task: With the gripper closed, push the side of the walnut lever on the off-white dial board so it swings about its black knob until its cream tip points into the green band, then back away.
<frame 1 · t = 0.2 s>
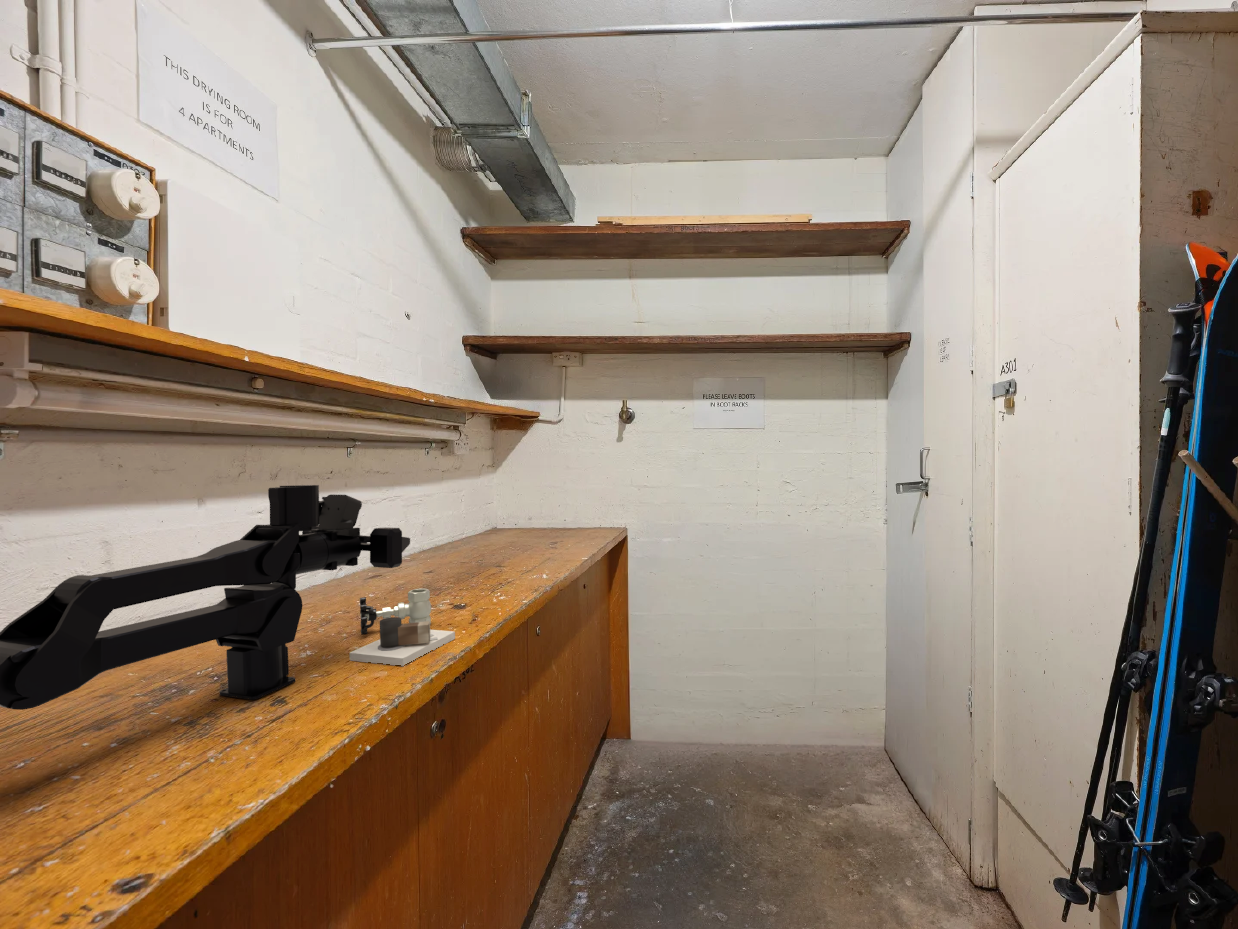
hand: (388, 539, 101), 17 cm above the worktop, tool horizontal, fingers open, 9 cm apart
lever: (404, 630, 90), point 4 cm above the worktop, hinge at -60.0°
valve: (397, 630, 103), on the worktop
dial board: (405, 649, 92), on the worktop
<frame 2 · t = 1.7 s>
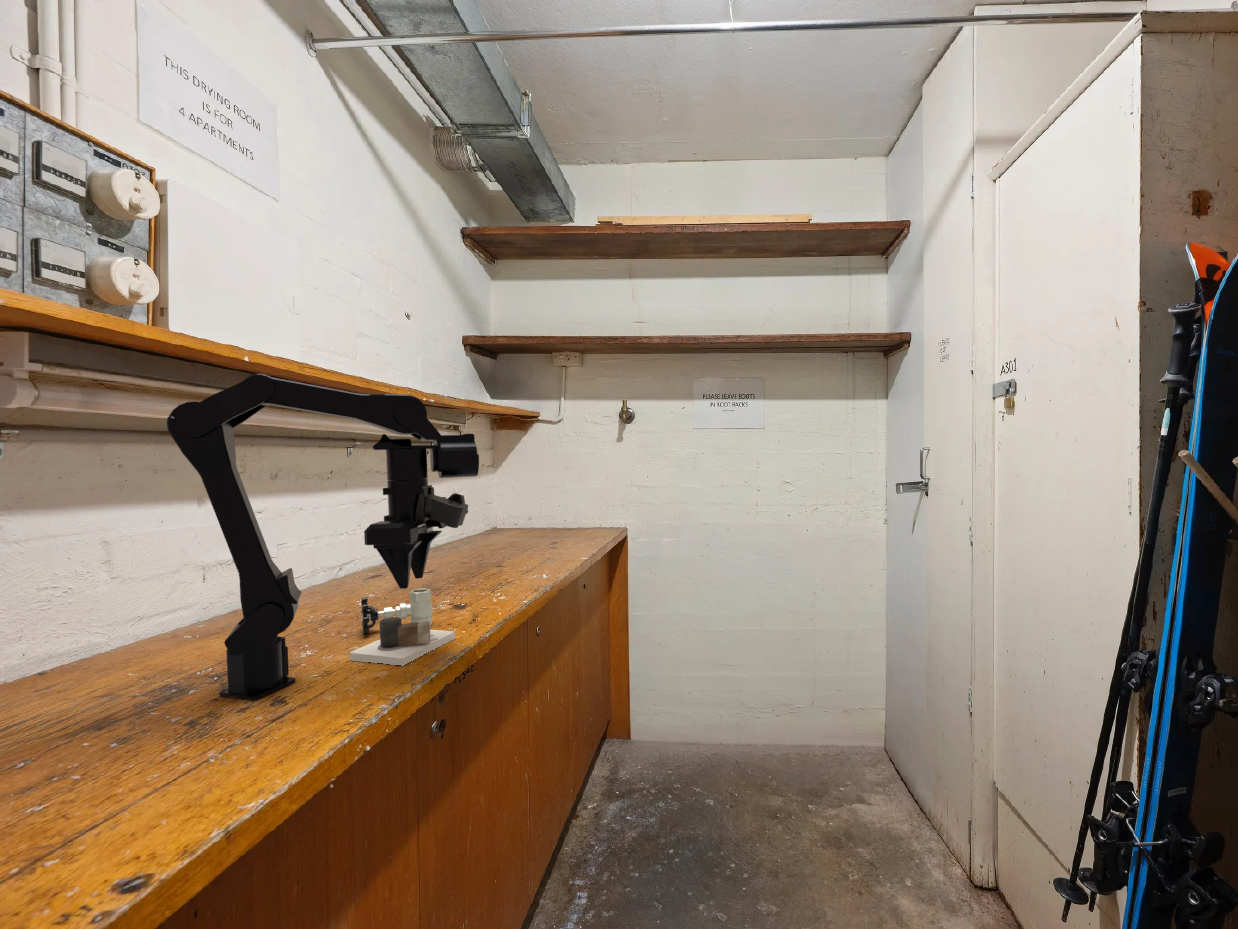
hand: (411, 583, 85), 12 cm above the worktop, tool pointing down, fingers open, 6 cm apart
nothing on the worktop moved.
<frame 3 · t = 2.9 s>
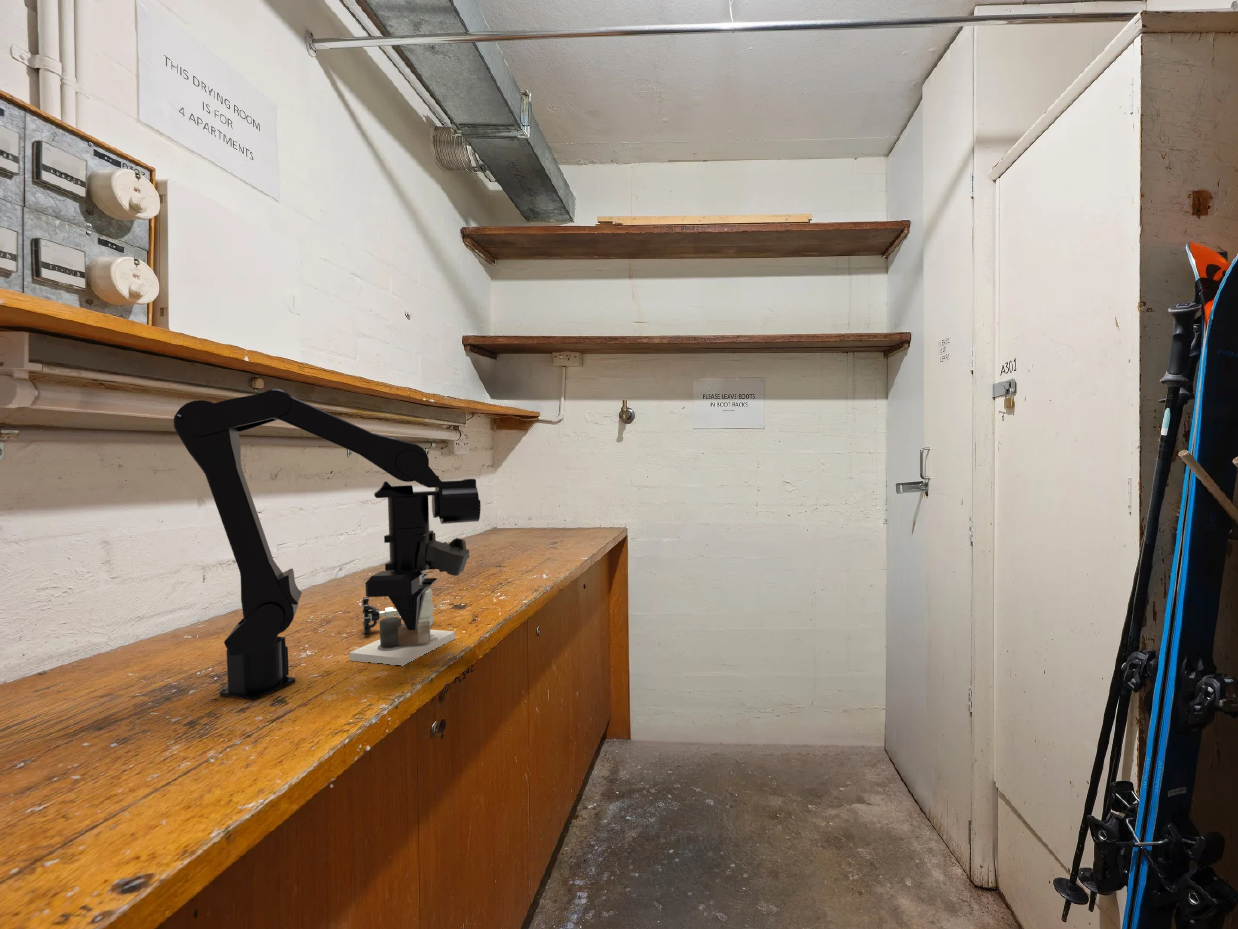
hand: (412, 629, 85), 5 cm above the worktop, tool pointing down, fingers closed
nothing on the worktop moved.
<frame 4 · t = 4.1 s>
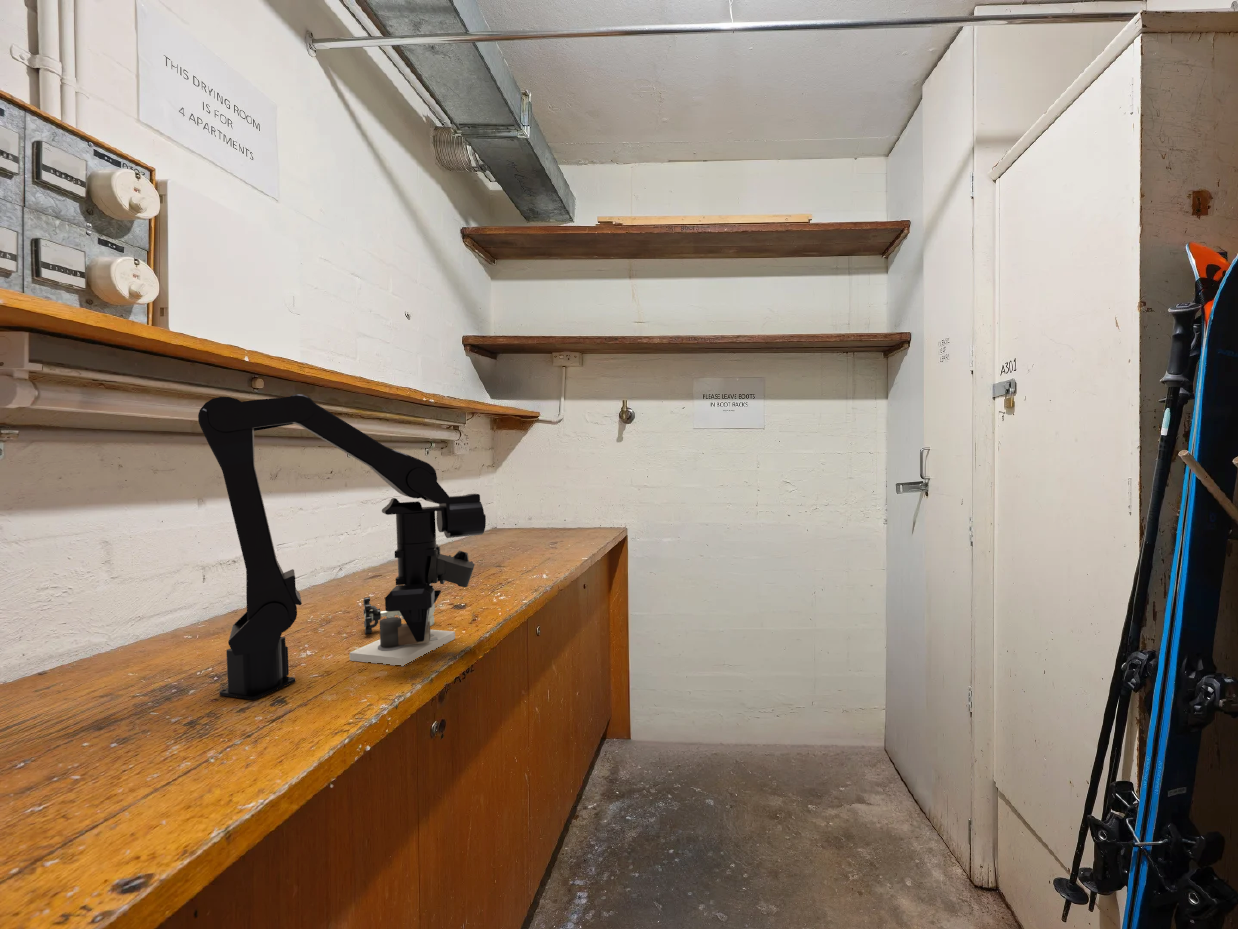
hand: (420, 641, 88), 2 cm above the worktop, tool pointing down, fingers closed
lever: (404, 630, 90), point 4 cm above the worktop, hinge at -59.8°, touching gripper
everything else where it was.
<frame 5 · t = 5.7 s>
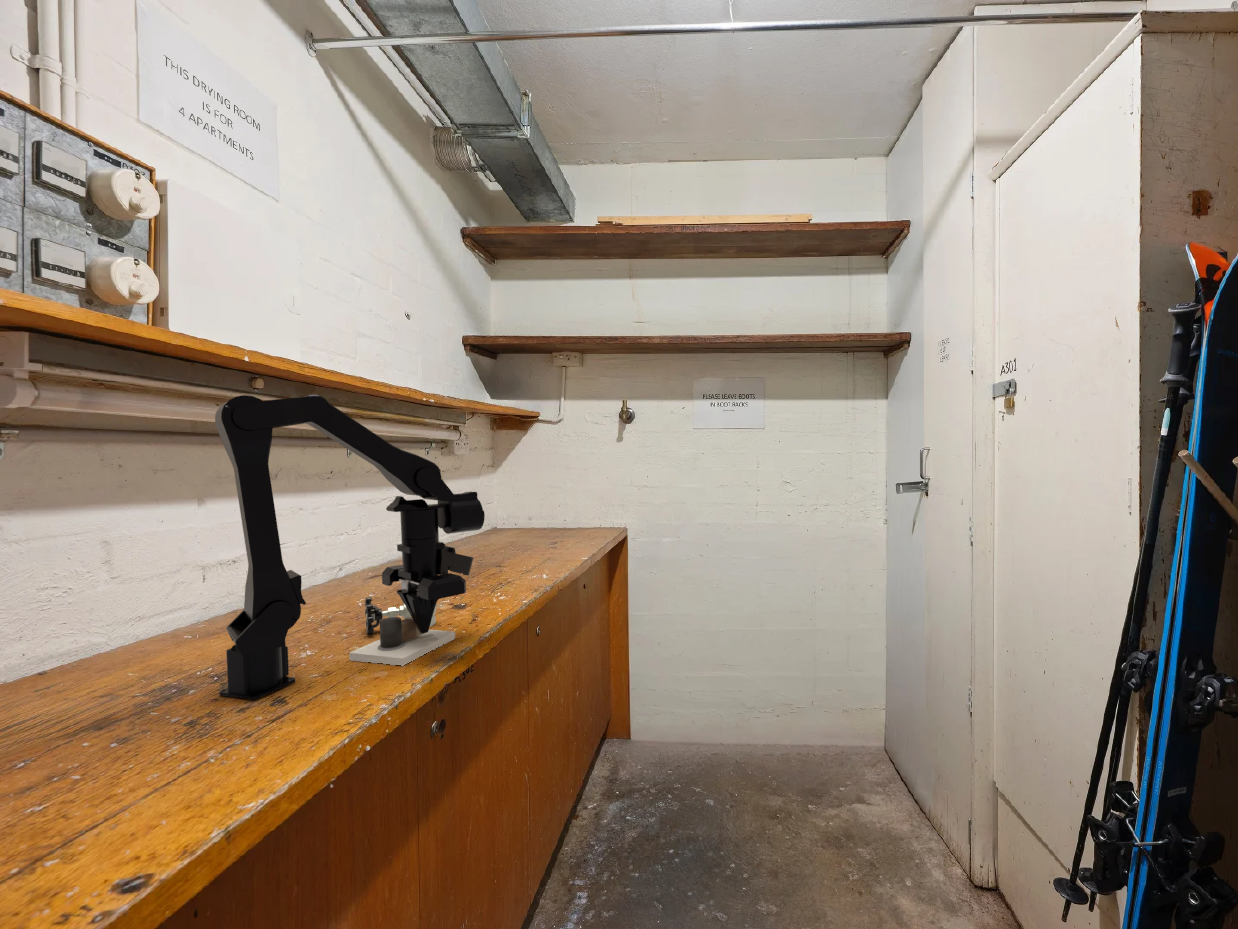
hand: (424, 632, 92), 2 cm above the worktop, tool pointing down, fingers closed
lever: (401, 628, 91), point 4 cm above the worktop, hinge at -8.2°, touching gripper
everything else where it was.
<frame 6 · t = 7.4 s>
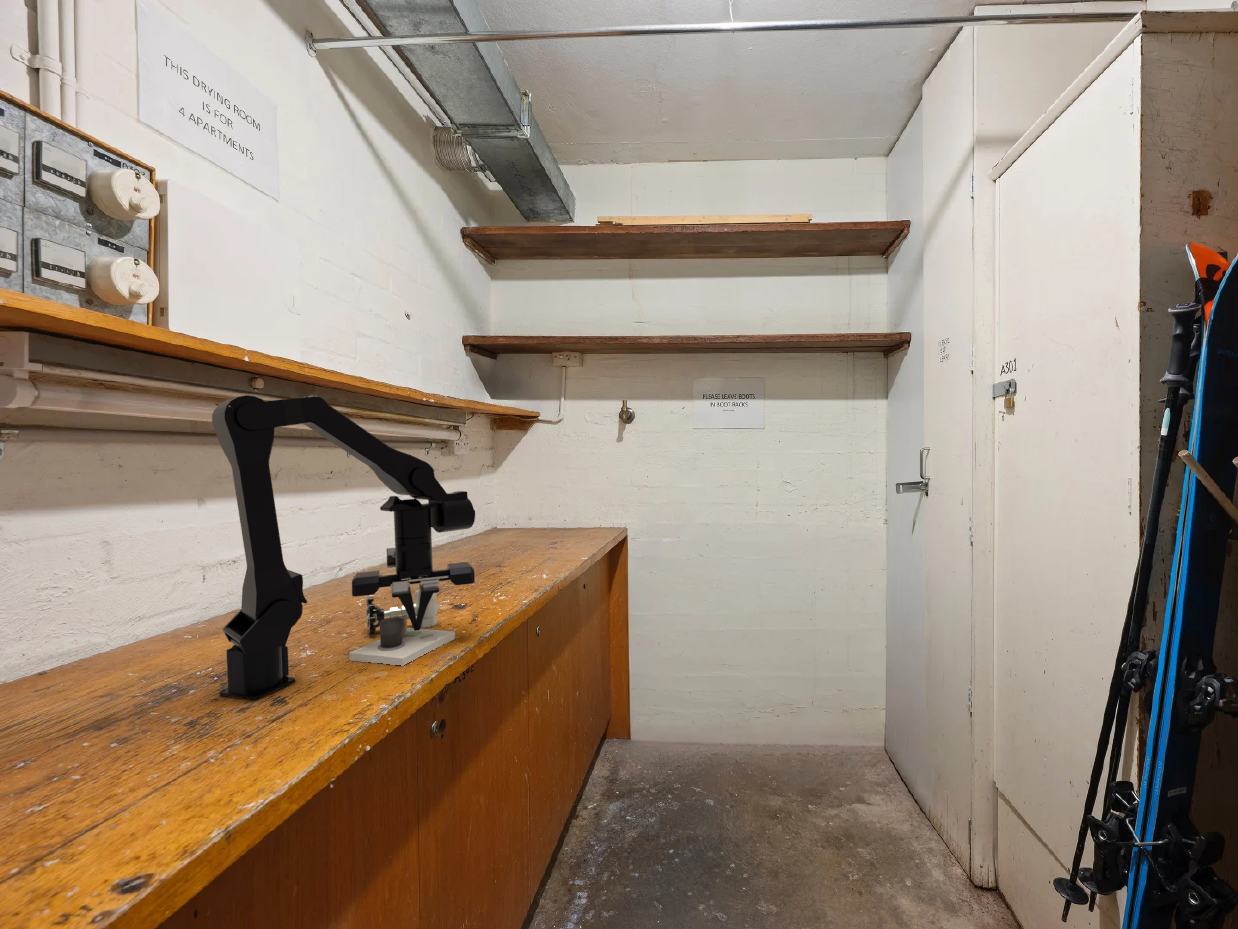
hand: (416, 629, 94), 2 cm above the worktop, tool pointing down, fingers closed
lever: (394, 628, 92), point 3 cm above the worktop, hinge at 25.7°
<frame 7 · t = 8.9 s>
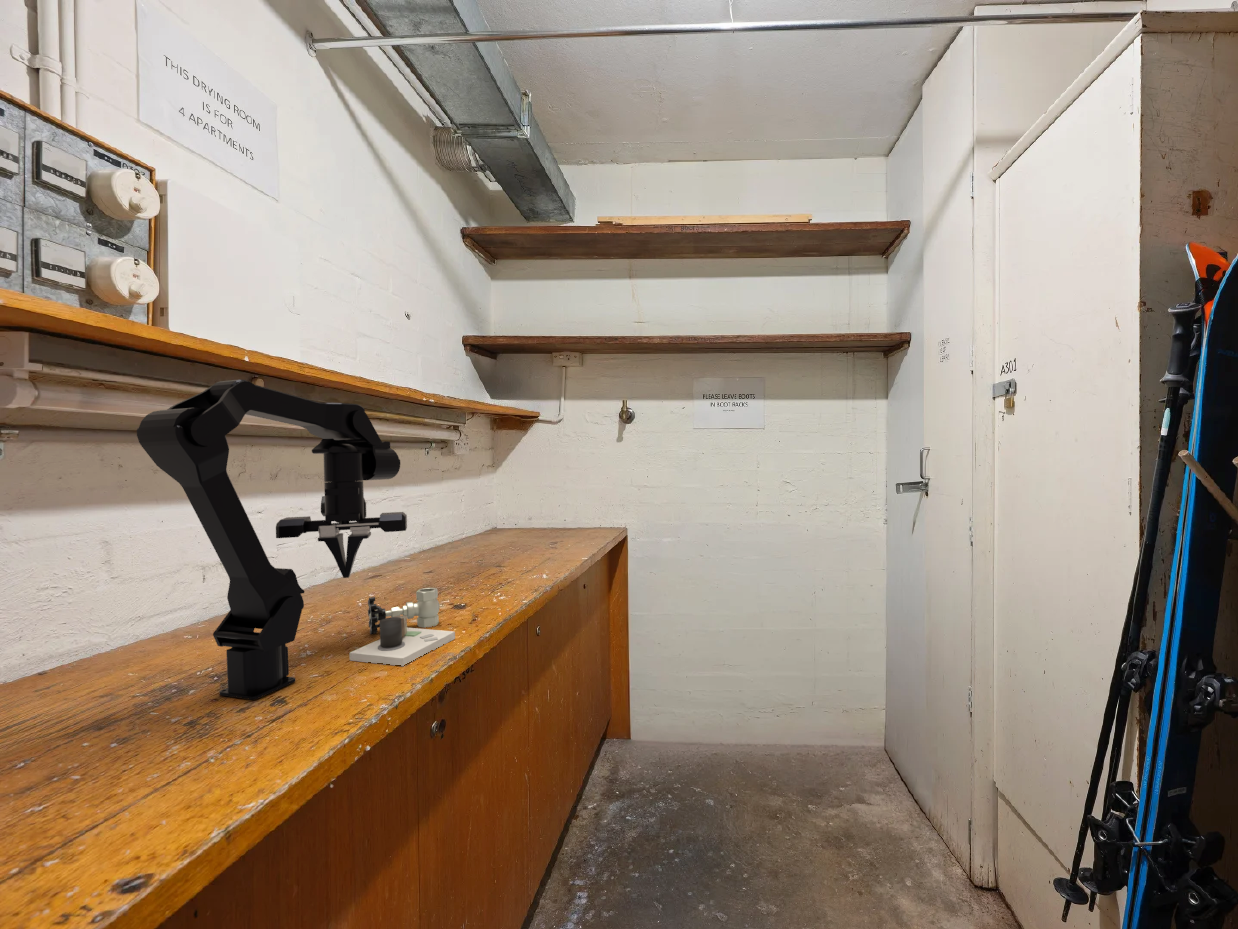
hand: (346, 577, 92), 12 cm above the worktop, tool pointing down, fingers closed
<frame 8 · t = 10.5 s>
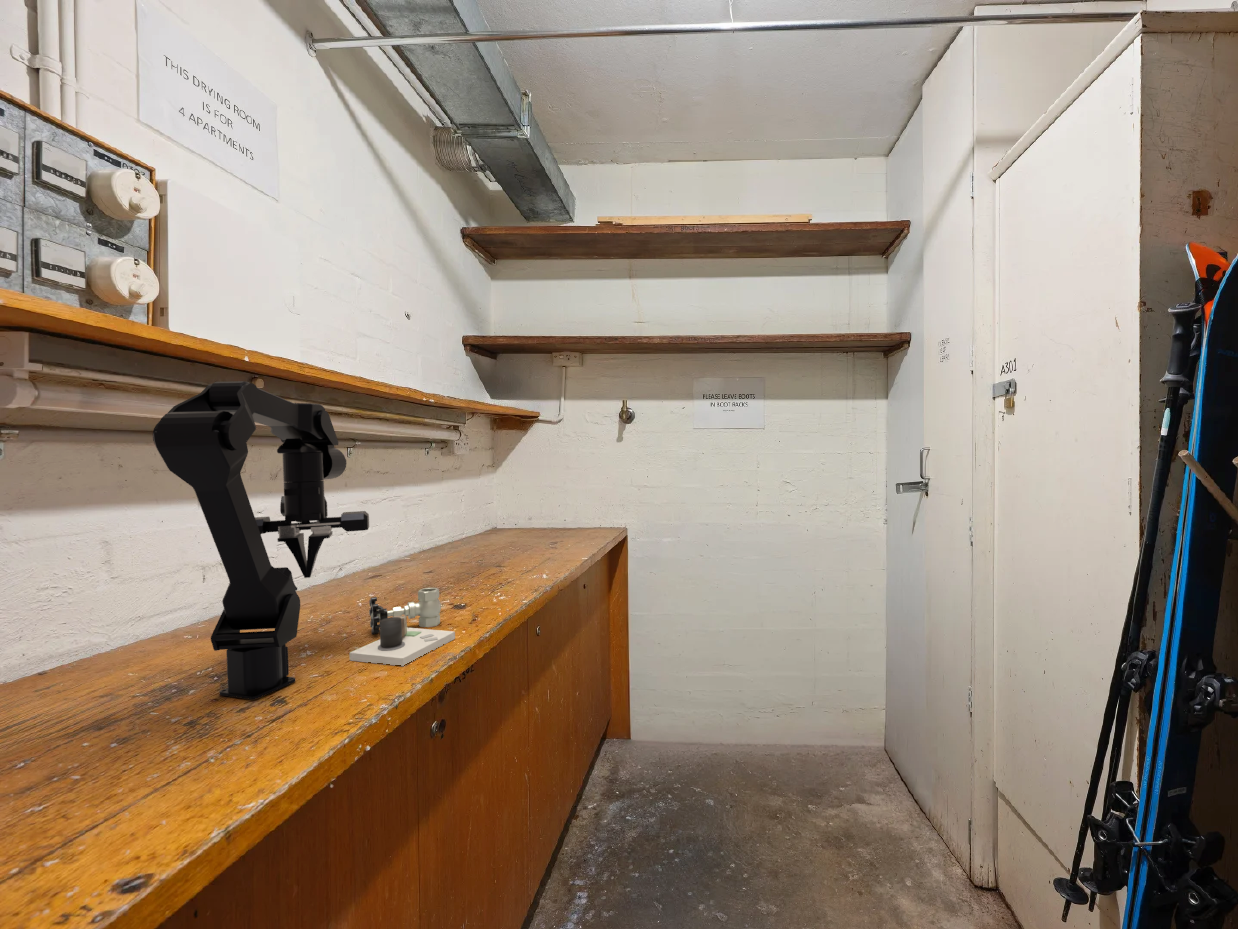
hand: (307, 577, 92), 12 cm above the worktop, tool pointing down, fingers closed
at the end: lever at +26° (first picture: -60°) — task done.
